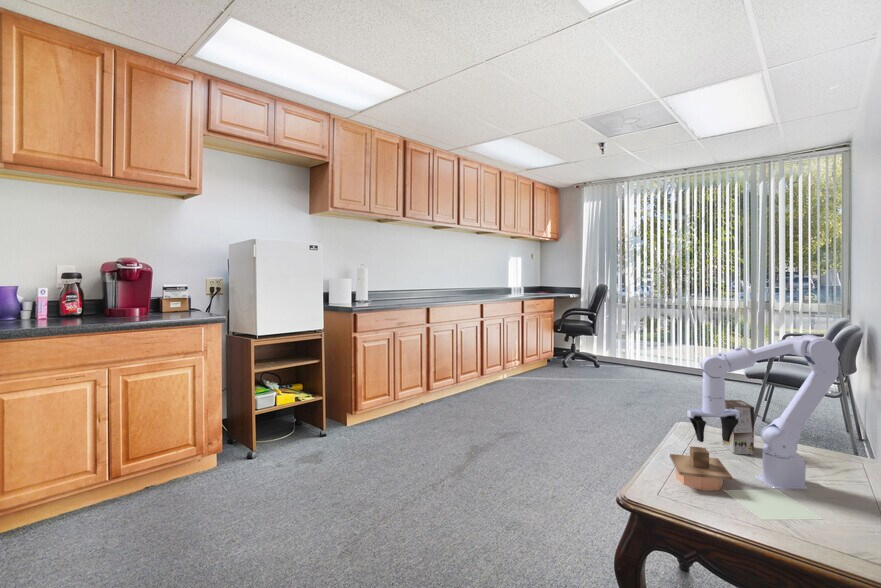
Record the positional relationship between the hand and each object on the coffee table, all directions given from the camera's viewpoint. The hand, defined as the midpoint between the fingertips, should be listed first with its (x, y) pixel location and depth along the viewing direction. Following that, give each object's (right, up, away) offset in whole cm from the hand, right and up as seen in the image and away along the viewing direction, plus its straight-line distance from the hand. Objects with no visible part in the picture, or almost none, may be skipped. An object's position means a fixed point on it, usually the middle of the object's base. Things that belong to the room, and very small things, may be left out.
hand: (713, 440), depth 132 cm
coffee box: (+20, -10, +19) cm, 30 cm away
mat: (+4, -11, -18) cm, 21 cm away
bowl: (-7, -11, -4) cm, 13 cm away
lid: (-7, -6, -5) cm, 10 cm away
